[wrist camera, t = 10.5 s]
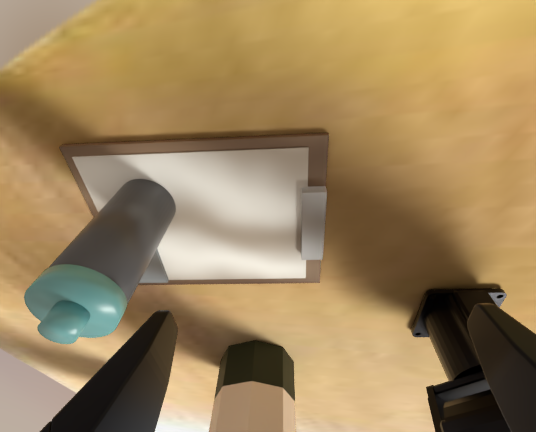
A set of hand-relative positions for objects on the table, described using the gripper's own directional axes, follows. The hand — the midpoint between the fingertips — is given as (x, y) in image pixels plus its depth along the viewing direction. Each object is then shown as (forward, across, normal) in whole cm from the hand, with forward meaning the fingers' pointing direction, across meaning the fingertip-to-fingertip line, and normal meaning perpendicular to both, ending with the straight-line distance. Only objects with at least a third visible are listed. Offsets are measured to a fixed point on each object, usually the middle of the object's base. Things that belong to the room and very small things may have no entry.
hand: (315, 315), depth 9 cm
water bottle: (+12, +11, +3) cm, 16 cm away
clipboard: (+12, +7, +5) cm, 15 cm away
